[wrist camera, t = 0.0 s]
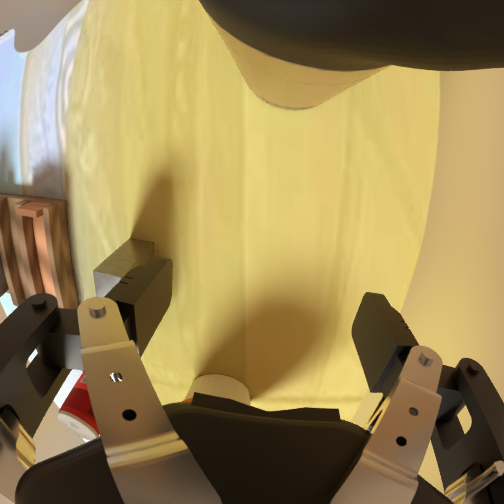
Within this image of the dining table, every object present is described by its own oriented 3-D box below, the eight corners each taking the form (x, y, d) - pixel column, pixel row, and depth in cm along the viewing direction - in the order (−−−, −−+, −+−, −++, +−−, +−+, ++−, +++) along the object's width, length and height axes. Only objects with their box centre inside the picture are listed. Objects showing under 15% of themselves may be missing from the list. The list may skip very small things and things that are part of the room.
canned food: (77, 375, 42) (52, 416, 32) (92, 363, 40) (64, 409, 30) (107, 400, 44) (86, 442, 34) (126, 391, 42) (103, 438, 32)
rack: (-9, 192, 28) (-52, 211, 20) (65, 200, 28) (12, 227, 20) (8, 286, 35) (-25, 314, 27) (81, 314, 35) (47, 355, 27)
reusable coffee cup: (199, 352, 36) (170, 448, 22) (278, 387, 38) (276, 479, 24) (169, 394, 41) (143, 470, 27) (236, 422, 42) (226, 497, 29)
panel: (130, 238, 30) (93, 270, 23) (153, 242, 30) (120, 277, 23) (135, 321, 35) (110, 362, 27) (156, 326, 35) (133, 369, 27)
